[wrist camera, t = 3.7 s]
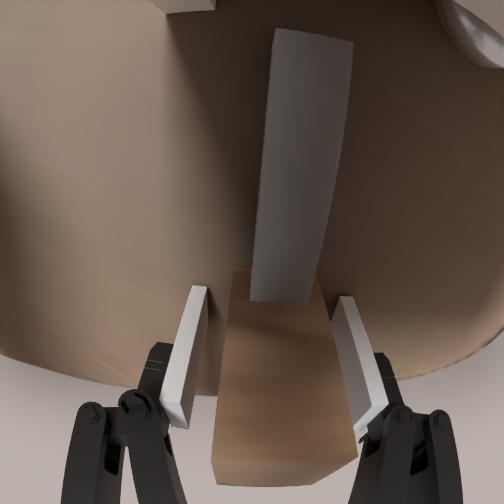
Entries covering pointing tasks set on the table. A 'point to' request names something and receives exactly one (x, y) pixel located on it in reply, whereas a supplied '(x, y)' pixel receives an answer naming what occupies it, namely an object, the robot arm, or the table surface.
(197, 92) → the table surface
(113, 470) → the robot arm
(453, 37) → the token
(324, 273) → the table surface
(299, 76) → the blade tool
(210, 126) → the table surface
